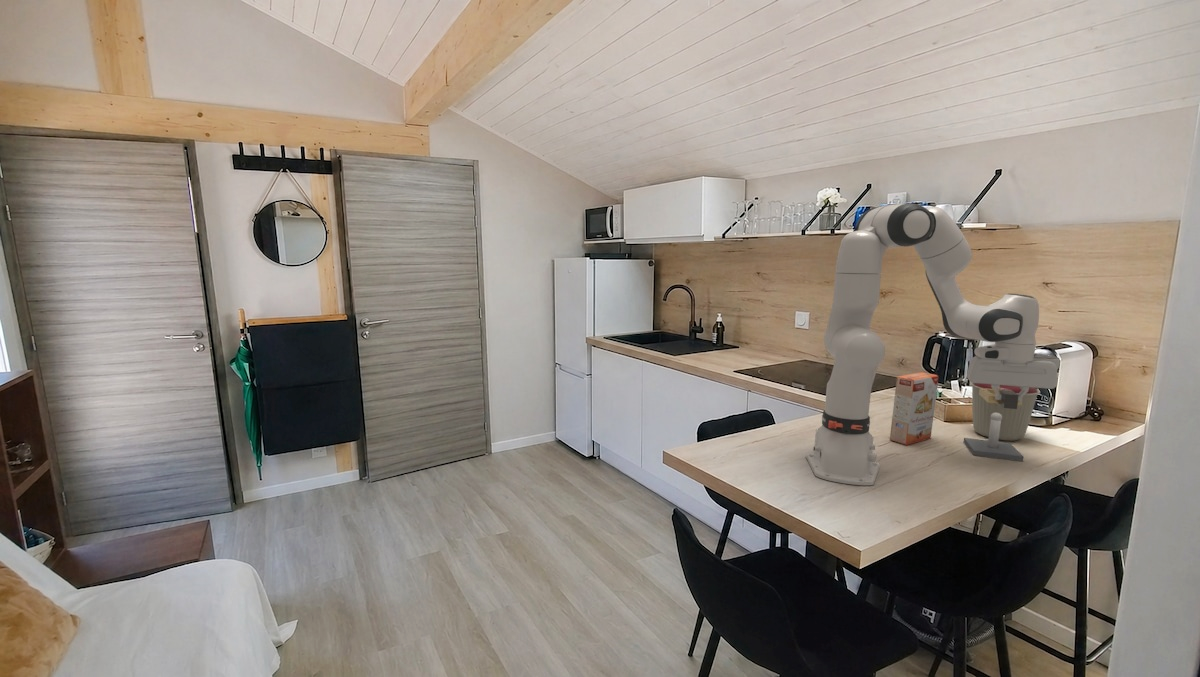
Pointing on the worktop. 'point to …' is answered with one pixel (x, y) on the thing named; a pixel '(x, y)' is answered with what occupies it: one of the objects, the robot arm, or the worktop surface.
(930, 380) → the cracker box
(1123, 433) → the worktop surface
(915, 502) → the worktop surface
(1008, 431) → the canister
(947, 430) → the worktop surface
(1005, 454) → the stand
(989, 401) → the link
